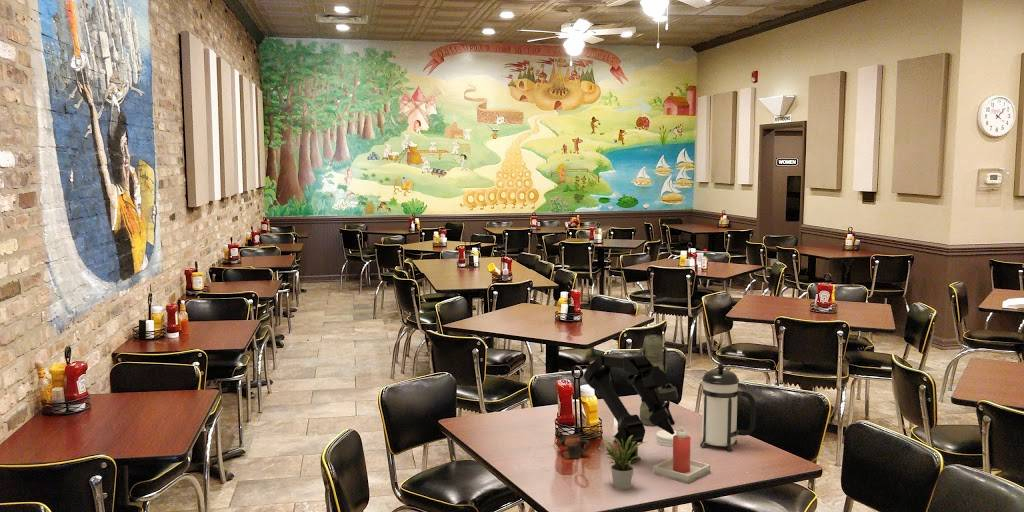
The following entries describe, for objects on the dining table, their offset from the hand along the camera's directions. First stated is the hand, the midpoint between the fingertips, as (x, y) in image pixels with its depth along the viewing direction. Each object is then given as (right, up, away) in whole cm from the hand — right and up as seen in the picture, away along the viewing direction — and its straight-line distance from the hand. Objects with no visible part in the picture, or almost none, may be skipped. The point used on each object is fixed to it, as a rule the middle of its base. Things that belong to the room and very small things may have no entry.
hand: (673, 429), depth 280 cm
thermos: (+1, -8, +51) cm, 51 cm away
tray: (+2, -14, -3) cm, 14 cm away
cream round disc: (+4, -11, +28) cm, 30 cm away
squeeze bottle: (+2, -13, -3) cm, 13 cm away
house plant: (-18, -15, -15) cm, 28 cm away
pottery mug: (-32, -12, +14) cm, 37 cm away
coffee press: (+22, -11, +24) cm, 35 cm away
